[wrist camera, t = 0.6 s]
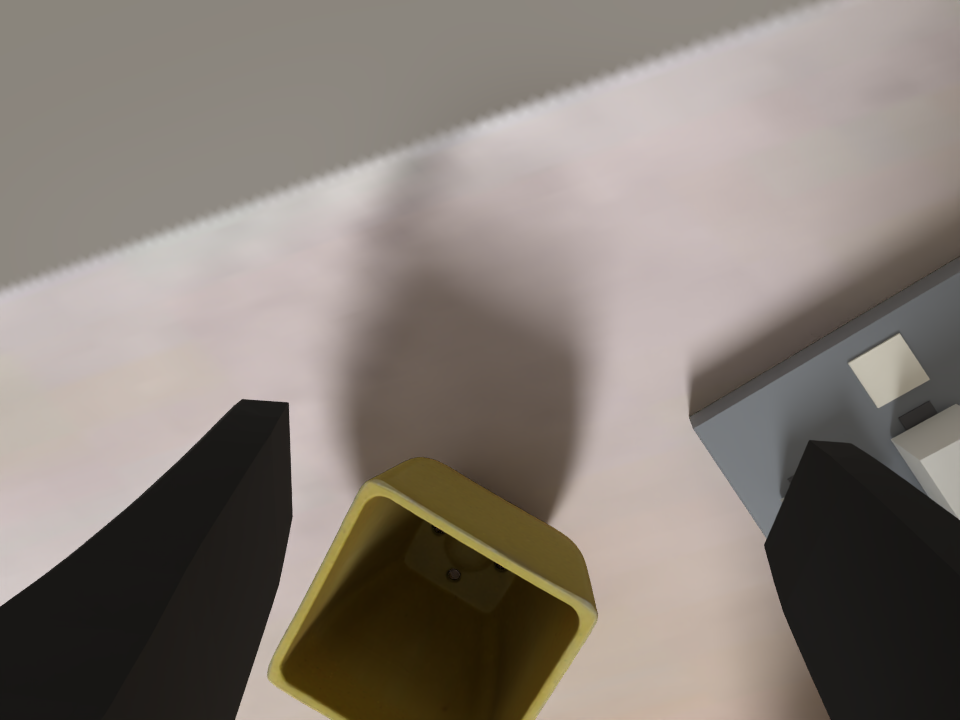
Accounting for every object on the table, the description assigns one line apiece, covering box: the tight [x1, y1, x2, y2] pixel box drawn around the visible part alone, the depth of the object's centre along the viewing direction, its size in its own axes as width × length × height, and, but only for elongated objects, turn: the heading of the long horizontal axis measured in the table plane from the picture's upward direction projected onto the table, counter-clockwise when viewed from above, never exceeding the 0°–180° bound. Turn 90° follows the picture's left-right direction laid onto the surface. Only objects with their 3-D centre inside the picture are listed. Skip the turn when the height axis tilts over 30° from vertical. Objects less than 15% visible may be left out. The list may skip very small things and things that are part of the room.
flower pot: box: [267, 457, 598, 720], centre depth 29 cm, size 9×9×9 cm
